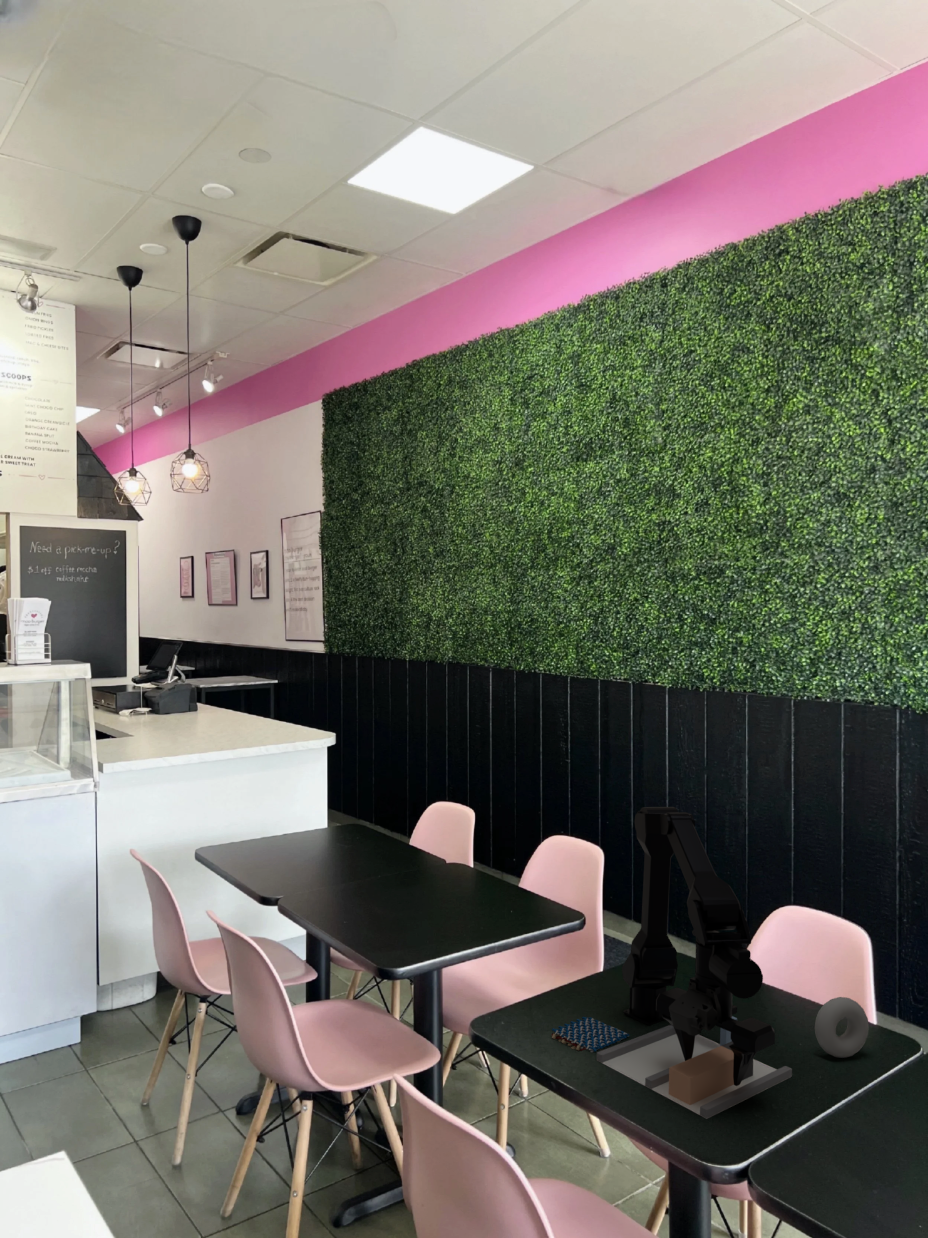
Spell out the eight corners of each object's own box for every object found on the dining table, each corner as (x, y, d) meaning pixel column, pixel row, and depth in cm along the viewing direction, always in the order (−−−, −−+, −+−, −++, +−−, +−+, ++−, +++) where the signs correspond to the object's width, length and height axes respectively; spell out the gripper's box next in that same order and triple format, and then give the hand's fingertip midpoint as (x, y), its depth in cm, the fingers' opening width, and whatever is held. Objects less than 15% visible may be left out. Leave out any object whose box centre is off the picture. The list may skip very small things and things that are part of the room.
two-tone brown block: (668, 1094, 137) (669, 1067, 137) (731, 1065, 147) (732, 1041, 147) (689, 1105, 134) (690, 1078, 134) (753, 1075, 144) (753, 1050, 144)
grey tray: (596, 1065, 147) (597, 1025, 148) (681, 1031, 161) (682, 996, 161) (706, 1124, 130) (707, 1079, 130) (791, 1081, 144) (792, 1041, 144)
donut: (858, 1049, 156) (859, 991, 156) (872, 1058, 152) (873, 999, 153) (809, 1055, 153) (810, 996, 153) (822, 1064, 150) (823, 1004, 150)
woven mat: (594, 1063, 149) (595, 1050, 149) (548, 1040, 157) (548, 1029, 157) (634, 1045, 156) (634, 1034, 156) (587, 1025, 164) (588, 1013, 164)
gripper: (634, 965, 143) (632, 1064, 143) (733, 1005, 128) (731, 1115, 128) (678, 952, 150) (677, 1045, 150) (777, 988, 135) (776, 1092, 135)
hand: (712, 1073), depth 140 cm, fingers open, 9 cm apart
